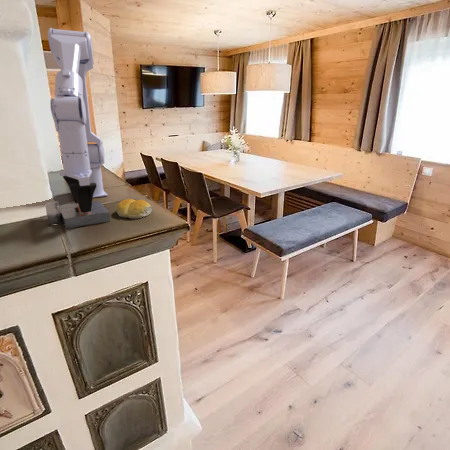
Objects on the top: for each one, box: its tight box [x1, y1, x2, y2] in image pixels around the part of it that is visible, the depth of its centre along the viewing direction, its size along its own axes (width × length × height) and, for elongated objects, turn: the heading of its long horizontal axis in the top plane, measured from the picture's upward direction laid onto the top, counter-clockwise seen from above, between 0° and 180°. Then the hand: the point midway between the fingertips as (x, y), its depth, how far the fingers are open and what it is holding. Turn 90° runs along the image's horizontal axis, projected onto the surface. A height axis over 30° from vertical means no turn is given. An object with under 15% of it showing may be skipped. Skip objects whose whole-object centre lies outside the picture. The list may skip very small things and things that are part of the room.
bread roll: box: [116, 198, 153, 220], centre depth 82 cm, size 8×9×4 cm
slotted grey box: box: [44, 200, 111, 230], centre depth 76 cm, size 10×13×5 cm
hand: (82, 207), depth 77 cm, fingers open, 7 cm apart
